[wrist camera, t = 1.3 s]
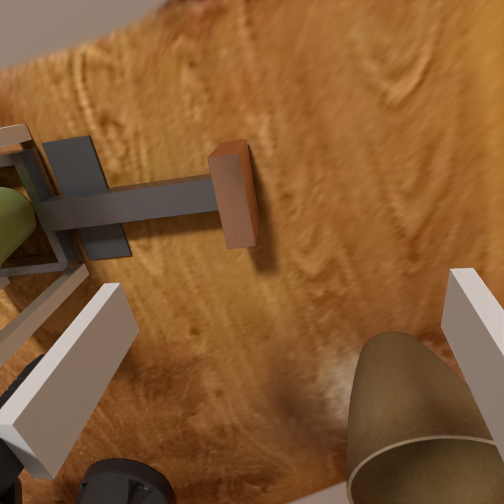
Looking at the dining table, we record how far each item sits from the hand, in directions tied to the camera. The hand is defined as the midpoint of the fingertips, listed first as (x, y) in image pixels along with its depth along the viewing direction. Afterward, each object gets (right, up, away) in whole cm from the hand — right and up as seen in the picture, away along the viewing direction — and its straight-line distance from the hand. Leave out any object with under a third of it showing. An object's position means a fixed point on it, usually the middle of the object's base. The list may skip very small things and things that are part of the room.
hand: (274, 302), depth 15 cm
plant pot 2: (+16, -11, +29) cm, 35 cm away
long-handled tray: (-17, +7, +22) cm, 29 cm away
